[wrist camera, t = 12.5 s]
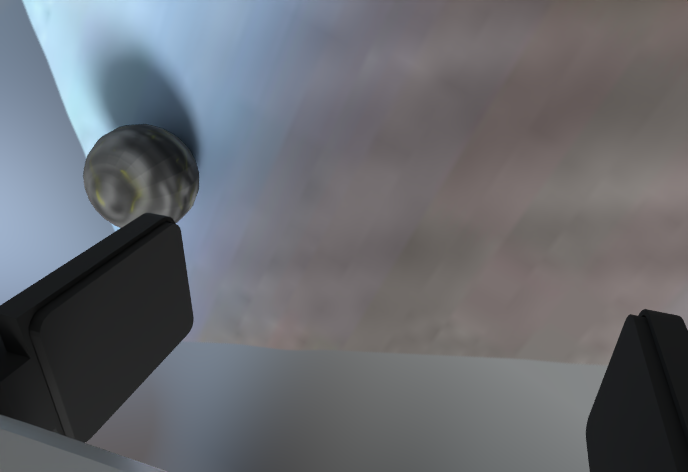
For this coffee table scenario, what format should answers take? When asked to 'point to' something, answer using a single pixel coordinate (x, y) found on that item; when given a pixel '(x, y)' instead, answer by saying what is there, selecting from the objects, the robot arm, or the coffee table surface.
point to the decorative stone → (140, 174)
